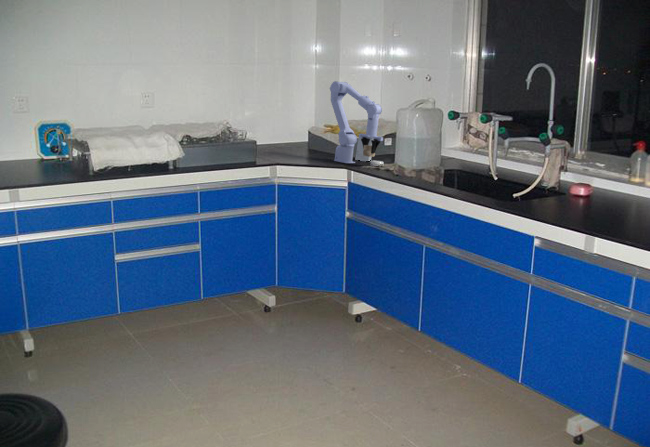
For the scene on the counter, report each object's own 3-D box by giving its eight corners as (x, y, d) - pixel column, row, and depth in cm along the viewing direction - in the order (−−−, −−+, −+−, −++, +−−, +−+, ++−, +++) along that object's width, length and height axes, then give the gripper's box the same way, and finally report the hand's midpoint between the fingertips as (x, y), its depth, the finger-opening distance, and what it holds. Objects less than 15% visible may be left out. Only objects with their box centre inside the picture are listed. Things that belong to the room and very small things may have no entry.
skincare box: (354, 160, 388) (357, 134, 384) (358, 159, 393) (361, 133, 390) (369, 162, 385) (372, 135, 382) (372, 161, 391) (375, 135, 387)
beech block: (362, 155, 364) (364, 145, 363) (367, 155, 367) (369, 145, 366) (369, 156, 361) (370, 146, 360) (374, 156, 364) (375, 146, 363)
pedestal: (367, 165, 372) (368, 160, 371) (375, 164, 377) (375, 160, 377) (378, 167, 368) (378, 162, 367) (385, 166, 373) (386, 162, 372)
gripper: (356, 125, 362) (353, 150, 365) (378, 128, 353) (375, 154, 356) (364, 125, 367) (361, 150, 370) (386, 129, 359) (383, 154, 362)
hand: (369, 152), depth 364 cm, fingers closed on beech block, 4 cm apart
